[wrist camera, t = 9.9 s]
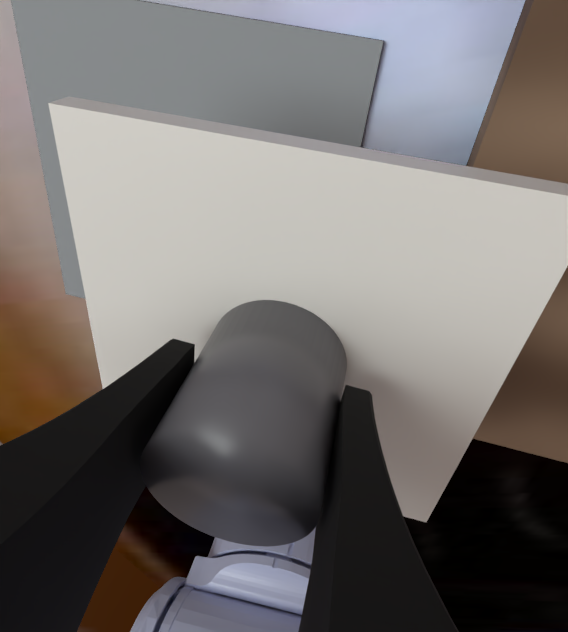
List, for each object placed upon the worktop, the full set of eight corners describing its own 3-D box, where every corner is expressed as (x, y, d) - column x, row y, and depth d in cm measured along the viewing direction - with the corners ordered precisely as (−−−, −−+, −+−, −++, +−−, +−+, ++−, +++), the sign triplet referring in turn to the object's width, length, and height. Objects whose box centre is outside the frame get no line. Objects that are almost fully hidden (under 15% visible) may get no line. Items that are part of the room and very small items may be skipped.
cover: (425, 502, 17) (428, 673, 13) (122, 421, 18) (35, 551, 14) (591, 187, 10) (724, 342, 5) (69, 96, 11) (-141, 164, 7)
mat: (316, 352, 24) (315, 355, 24) (69, 291, 25) (65, 293, 25) (383, 40, 16) (383, 41, 15) (12, -21, 17) (6, -22, 17)
